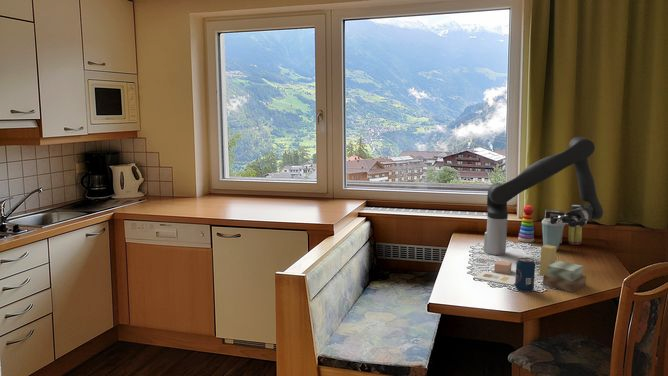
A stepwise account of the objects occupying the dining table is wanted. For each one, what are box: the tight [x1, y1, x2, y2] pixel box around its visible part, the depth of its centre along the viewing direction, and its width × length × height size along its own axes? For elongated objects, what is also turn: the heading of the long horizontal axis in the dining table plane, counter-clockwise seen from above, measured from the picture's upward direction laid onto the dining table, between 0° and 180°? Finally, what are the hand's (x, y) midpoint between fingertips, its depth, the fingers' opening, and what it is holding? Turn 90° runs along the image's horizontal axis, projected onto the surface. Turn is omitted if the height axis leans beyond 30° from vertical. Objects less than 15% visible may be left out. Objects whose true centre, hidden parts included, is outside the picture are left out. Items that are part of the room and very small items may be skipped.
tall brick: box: [539, 245, 557, 276], centre depth 242 cm, size 4×4×12 cm
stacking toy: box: [517, 204, 535, 243], centre depth 297 cm, size 8×8×19 cm
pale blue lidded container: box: [544, 208, 565, 244], centre depth 297 cm, size 9×6×16 cm
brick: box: [493, 260, 513, 276], centre depth 246 cm, size 6×6×4 cm
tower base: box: [542, 260, 587, 293], centre depth 229 cm, size 12×12×8 cm
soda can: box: [514, 256, 536, 293], centre depth 223 cm, size 7×7×12 cm
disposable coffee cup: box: [541, 218, 566, 251], centre depth 282 cm, size 11×11×15 cm
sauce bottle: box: [567, 204, 583, 246], centre depth 292 cm, size 6×6×20 cm
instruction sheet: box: [473, 270, 516, 286], centre depth 237 cm, size 16×11×1 cm
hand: (561, 223), depth 248 cm, fingers open, 8 cm apart
